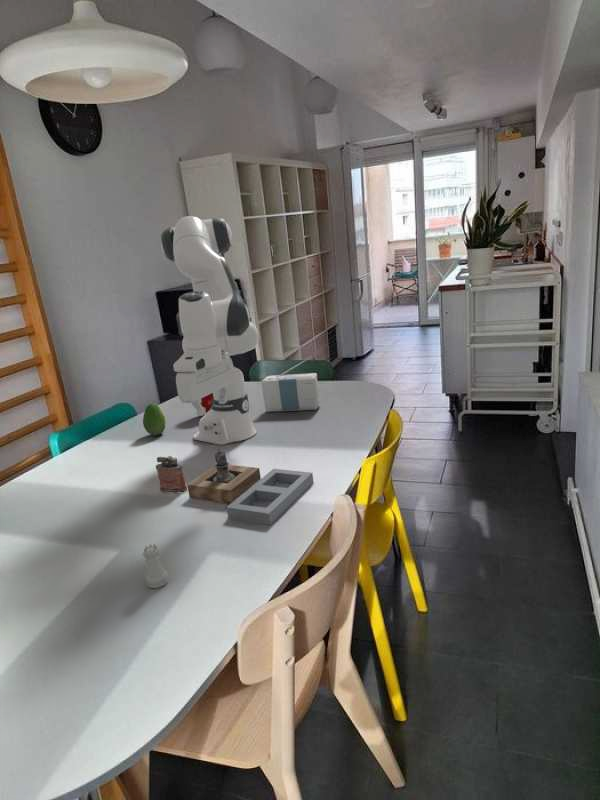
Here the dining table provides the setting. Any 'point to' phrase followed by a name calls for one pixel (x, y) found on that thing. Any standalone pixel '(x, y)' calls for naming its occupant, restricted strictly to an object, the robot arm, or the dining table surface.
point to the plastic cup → (206, 402)
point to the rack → (270, 496)
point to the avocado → (154, 420)
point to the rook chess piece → (154, 568)
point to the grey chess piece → (222, 469)
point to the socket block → (223, 484)
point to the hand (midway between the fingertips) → (212, 408)
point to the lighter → (170, 475)
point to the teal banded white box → (291, 392)
